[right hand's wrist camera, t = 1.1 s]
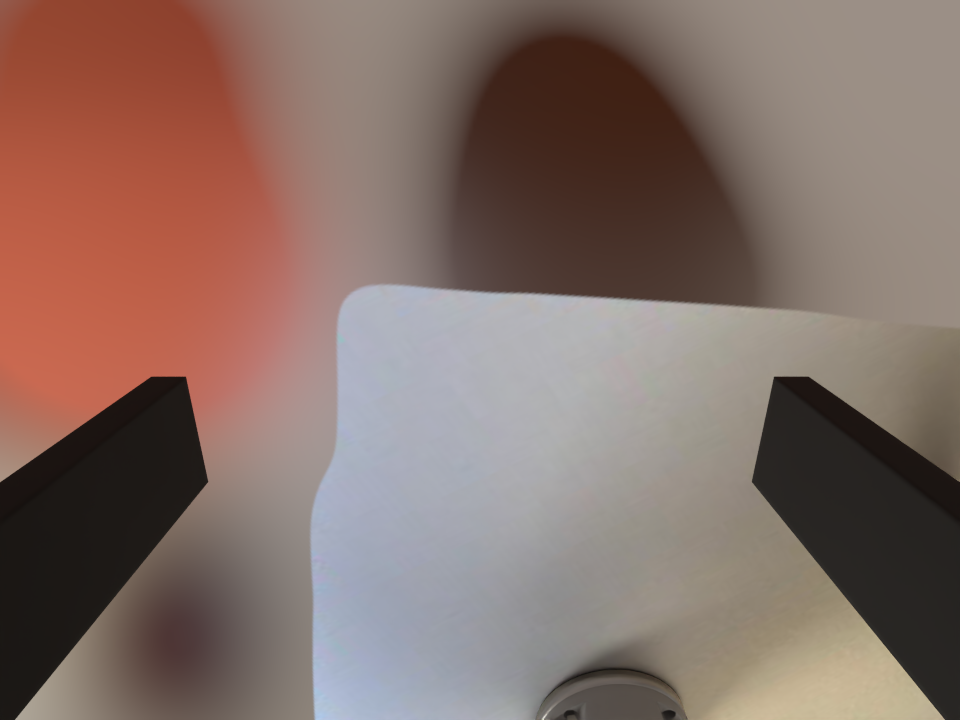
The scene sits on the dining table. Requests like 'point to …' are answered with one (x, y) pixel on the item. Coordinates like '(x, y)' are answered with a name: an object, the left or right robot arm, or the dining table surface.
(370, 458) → the dining table surface
